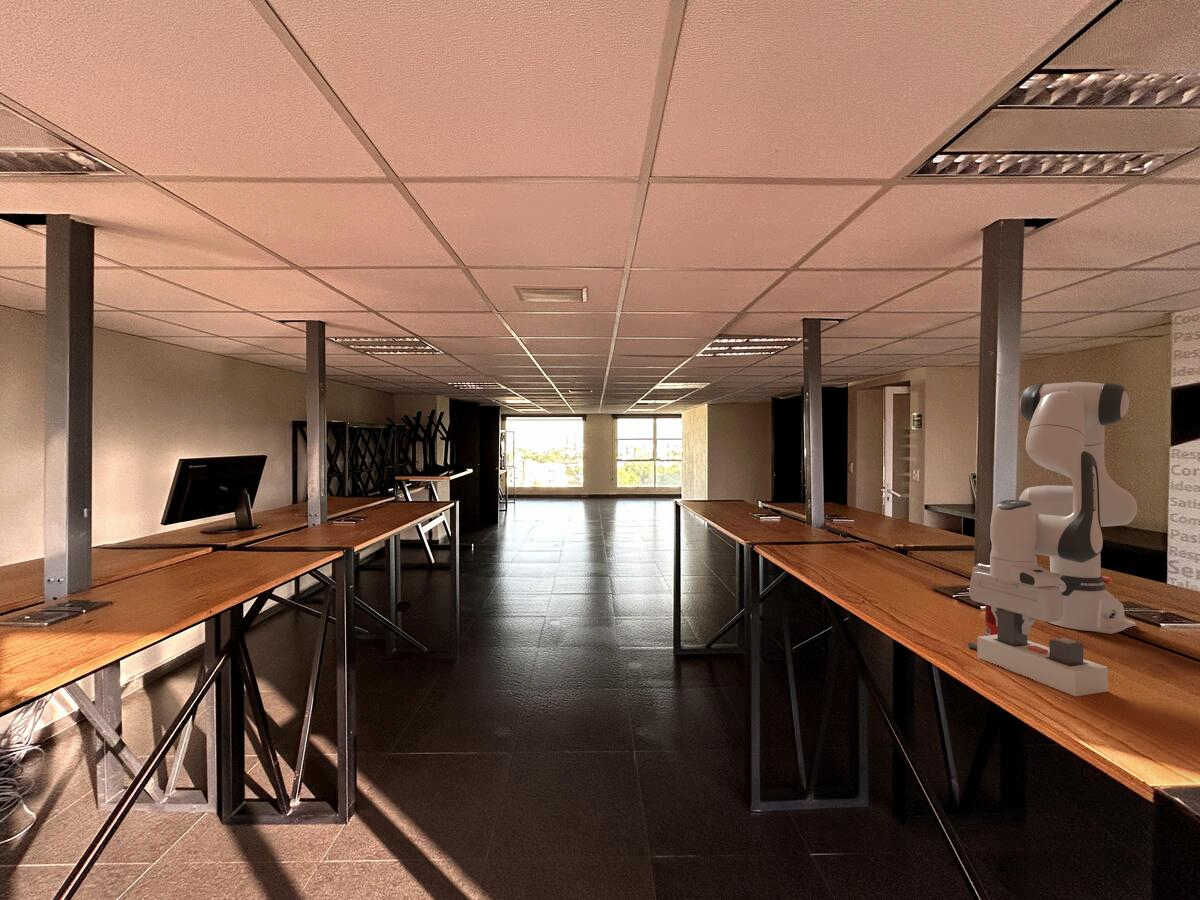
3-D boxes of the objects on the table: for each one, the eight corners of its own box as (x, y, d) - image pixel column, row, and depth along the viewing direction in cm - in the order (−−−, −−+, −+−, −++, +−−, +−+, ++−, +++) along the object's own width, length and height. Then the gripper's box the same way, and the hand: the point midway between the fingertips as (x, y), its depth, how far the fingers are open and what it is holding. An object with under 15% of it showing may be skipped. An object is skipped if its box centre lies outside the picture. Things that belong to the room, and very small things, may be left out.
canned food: (1012, 648, 143) (1012, 604, 143) (978, 639, 150) (978, 597, 150) (1029, 644, 146) (1029, 600, 146) (995, 634, 154) (995, 593, 154)
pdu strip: (984, 645, 145) (984, 608, 145) (1107, 691, 118) (1108, 645, 118) (955, 648, 143) (955, 611, 143) (1075, 696, 116) (1075, 650, 116)
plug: (1010, 642, 136) (1010, 606, 136) (1027, 648, 132) (1027, 611, 132) (997, 643, 135) (997, 608, 135) (1013, 649, 131) (1014, 612, 131)
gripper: (962, 562, 142) (962, 618, 142) (1046, 581, 123) (1046, 645, 123) (982, 561, 144) (982, 616, 144) (1068, 579, 124) (1068, 643, 124)
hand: (1012, 630), depth 133 cm, fingers closed on plug, 4 cm apart
